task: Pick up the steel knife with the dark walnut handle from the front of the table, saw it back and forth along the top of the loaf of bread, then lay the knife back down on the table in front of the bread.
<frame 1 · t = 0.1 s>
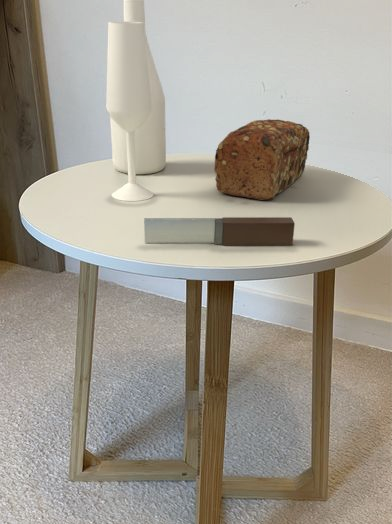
wine bottle: (139, 169, 109), on the table
bread: (261, 185, 101), on the table
knife: (214, 242, 78), on the table
champagne flute: (132, 195, 95), on the table
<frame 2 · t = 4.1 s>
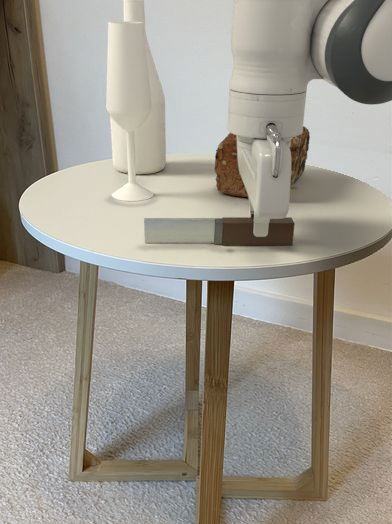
hand: (258, 229, 77), 2 cm above the table, tool pointing down, fingers closed on knife, 2 cm apart
knife: (214, 242, 78), on the table, touching gripper
everything else where it was.
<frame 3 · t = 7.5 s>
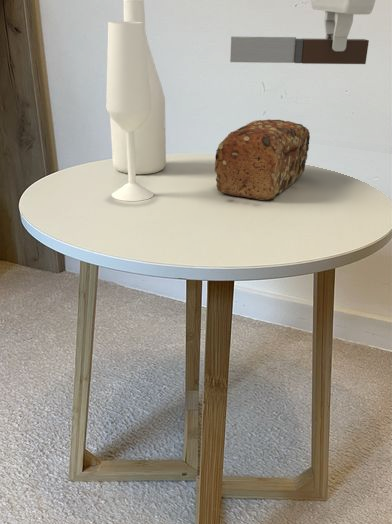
hand: (334, 49, 84), 21 cm above the table, tool pointing down, fingers closed on knife, 2 cm apart
knife: (293, 62, 85), point 19 cm above the table, touching gripper
everything else where it was.
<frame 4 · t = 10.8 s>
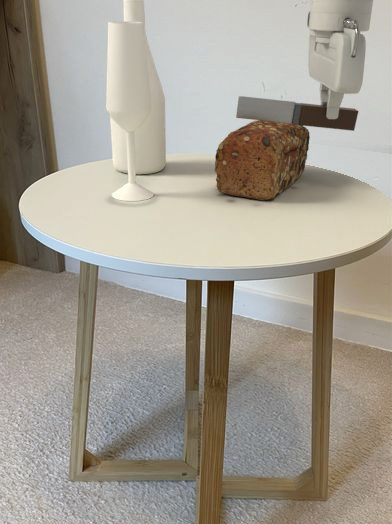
hand: (328, 116, 95), 11 cm above the table, tool pointing down, fingers closed on knife, 2 cm apart
knife: (291, 123, 96), point 10 cm above the table, tilted 5°, touching gripper
everything else where it was.
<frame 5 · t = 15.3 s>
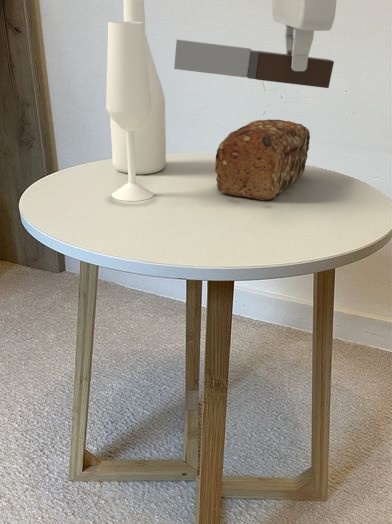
hand: (295, 68, 73), 20 cm above the table, tool pointing down, fingers closed on knife, 2 cm apart
knife: (247, 77, 73), point 19 cm above the table, tilted 6°, touching gripper
everything else where it was.
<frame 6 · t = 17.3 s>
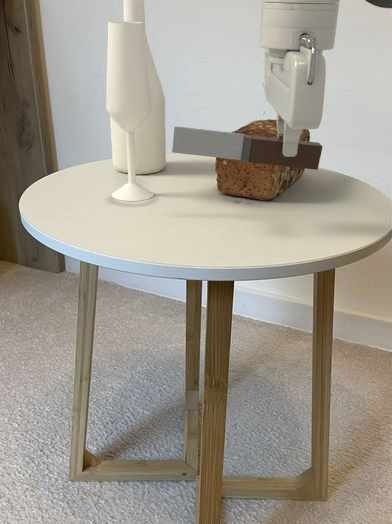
hand: (286, 151, 78), 10 cm above the table, tool pointing down, fingers closed on knife, 2 cm apart
knife: (241, 159, 78), point 9 cm above the table, tilted 6°, touching gripper
everything else where it was.
when the fingers open (2 cm above the table, at t = 19.3 s): knife stays where it is, on the table.
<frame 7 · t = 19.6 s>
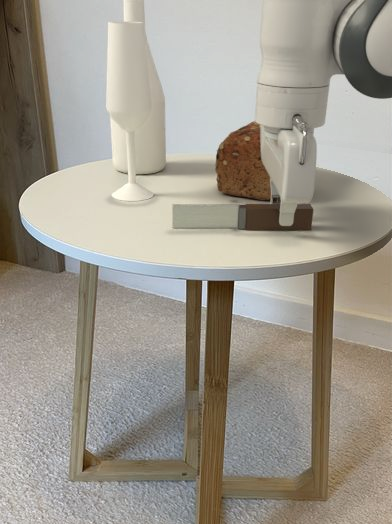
hand: (281, 215, 82), 2 cm above the table, tool pointing down, fingers open, 5 cm apart
knife: (237, 227, 83), on the table
everything else where it was.
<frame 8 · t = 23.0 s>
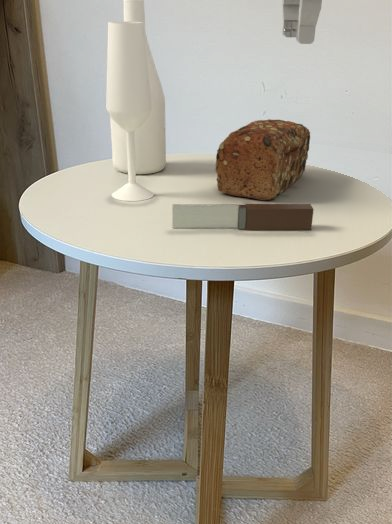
hand: (296, 40, 71), 23 cm above the table, tool pointing down, fingers open, 8 cm apart
nothing on the table moved.
at the end: the gripper is holding nothing; knife inside the target area (1.4 cm from its centre), on the table; bread moved 0.3 cm from its start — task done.
